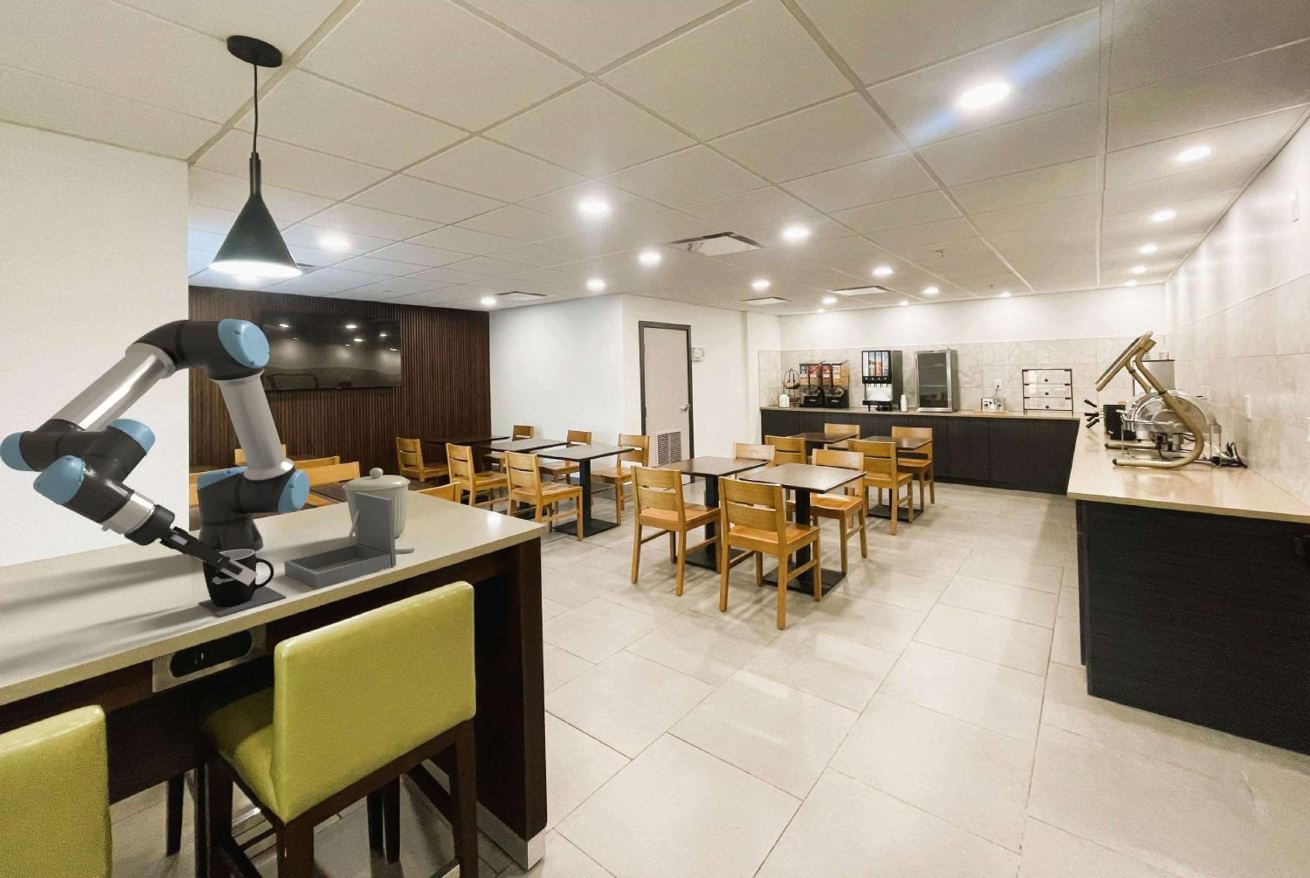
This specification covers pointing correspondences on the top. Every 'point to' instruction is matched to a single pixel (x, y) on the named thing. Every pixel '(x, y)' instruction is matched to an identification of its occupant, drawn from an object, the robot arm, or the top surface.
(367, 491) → the canister
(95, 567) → the top surface
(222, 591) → the mug
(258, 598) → the mat
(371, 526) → the case
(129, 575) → the top surface
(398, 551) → the rod
